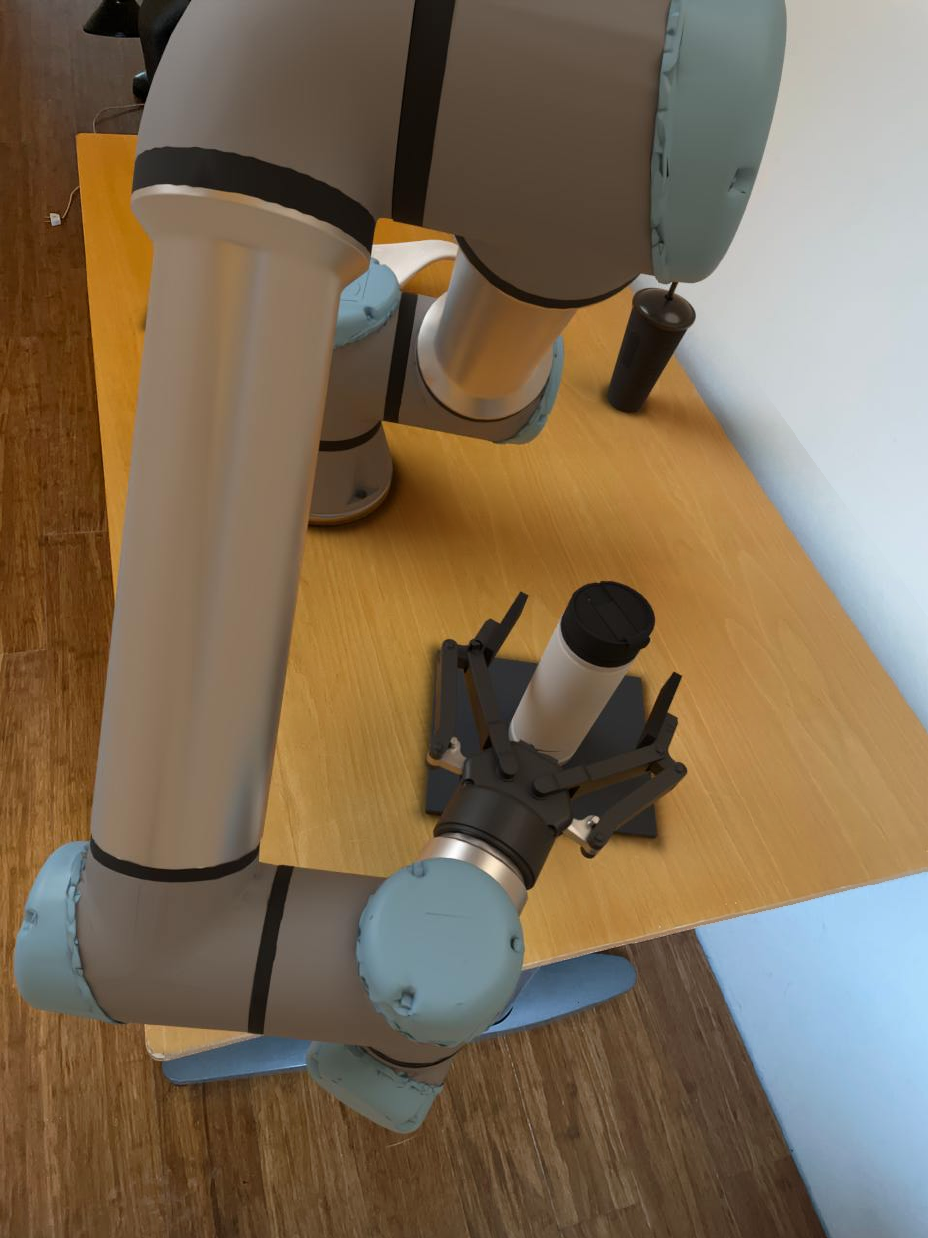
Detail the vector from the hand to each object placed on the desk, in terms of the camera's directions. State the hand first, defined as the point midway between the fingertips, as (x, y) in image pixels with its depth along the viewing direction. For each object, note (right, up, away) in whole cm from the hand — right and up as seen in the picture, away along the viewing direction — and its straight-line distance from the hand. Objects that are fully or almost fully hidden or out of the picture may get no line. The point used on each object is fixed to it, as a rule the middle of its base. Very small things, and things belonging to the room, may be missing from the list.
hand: (595, 641), depth 66 cm
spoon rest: (-20, +45, +43) cm, 66 cm away
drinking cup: (+10, +30, +40) cm, 51 cm away
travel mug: (-4, -9, +7) cm, 12 cm away
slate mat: (-4, -9, +8) cm, 13 cm away
